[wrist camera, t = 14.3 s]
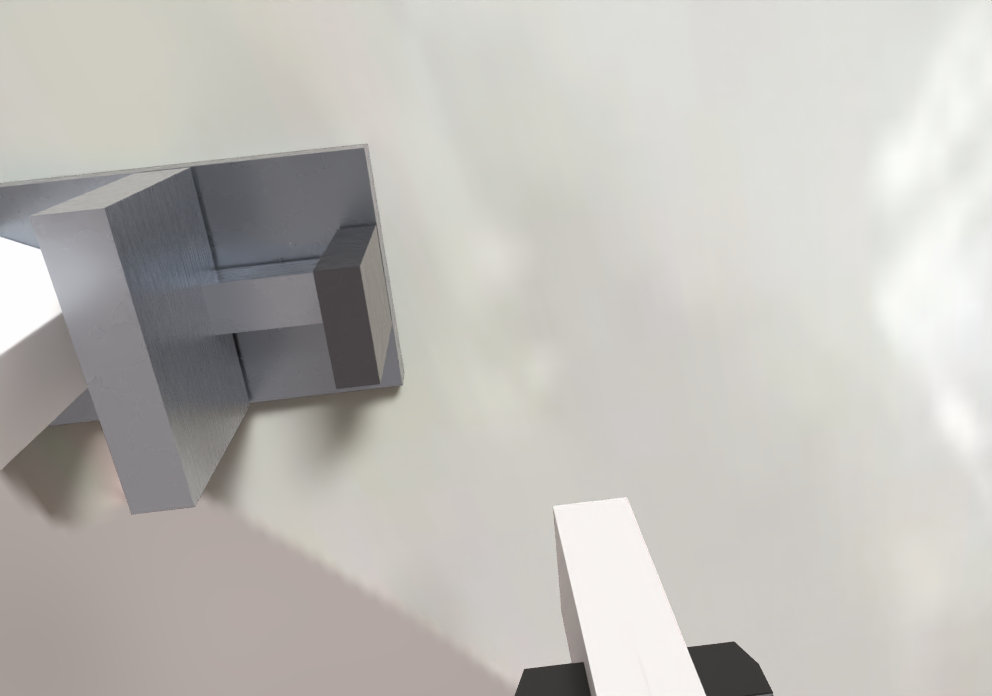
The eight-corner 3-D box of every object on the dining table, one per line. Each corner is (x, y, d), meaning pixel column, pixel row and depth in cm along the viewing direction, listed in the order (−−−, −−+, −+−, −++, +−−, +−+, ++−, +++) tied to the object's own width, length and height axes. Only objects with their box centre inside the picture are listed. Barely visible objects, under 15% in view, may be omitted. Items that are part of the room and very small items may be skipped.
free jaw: (120, 174, 33) (11, 218, 25) (363, 148, 33) (336, 182, 25) (189, 412, 38) (116, 516, 29) (402, 387, 38) (390, 484, 30)
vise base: (-168, 201, 34) (-408, 262, 25) (367, 143, 35) (337, 181, 25) (-68, 427, 39) (-238, 553, 29) (404, 373, 40) (390, 479, 30)
